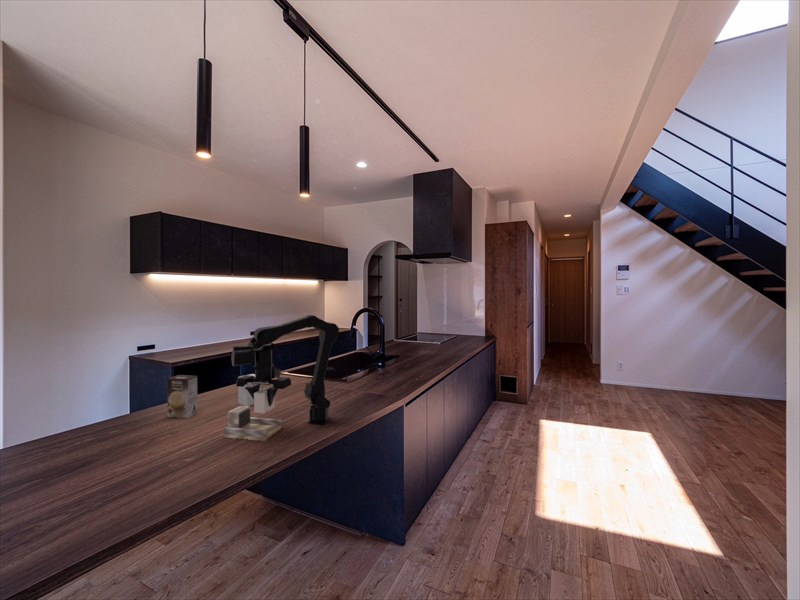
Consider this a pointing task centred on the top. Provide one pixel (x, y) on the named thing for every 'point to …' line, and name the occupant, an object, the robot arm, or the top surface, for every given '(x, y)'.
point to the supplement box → (245, 395)
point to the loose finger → (262, 401)
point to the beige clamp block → (250, 425)
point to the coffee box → (182, 396)
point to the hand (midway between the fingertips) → (264, 405)
